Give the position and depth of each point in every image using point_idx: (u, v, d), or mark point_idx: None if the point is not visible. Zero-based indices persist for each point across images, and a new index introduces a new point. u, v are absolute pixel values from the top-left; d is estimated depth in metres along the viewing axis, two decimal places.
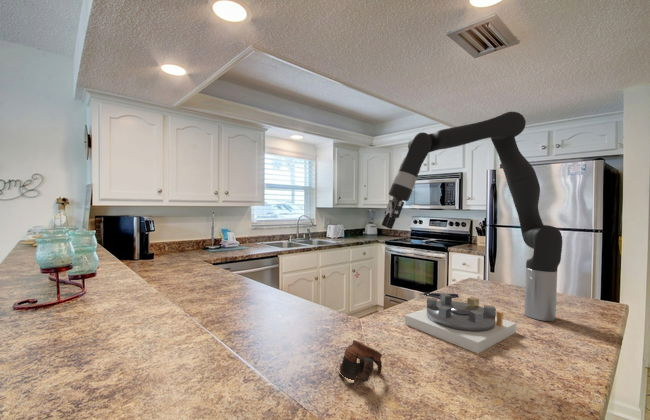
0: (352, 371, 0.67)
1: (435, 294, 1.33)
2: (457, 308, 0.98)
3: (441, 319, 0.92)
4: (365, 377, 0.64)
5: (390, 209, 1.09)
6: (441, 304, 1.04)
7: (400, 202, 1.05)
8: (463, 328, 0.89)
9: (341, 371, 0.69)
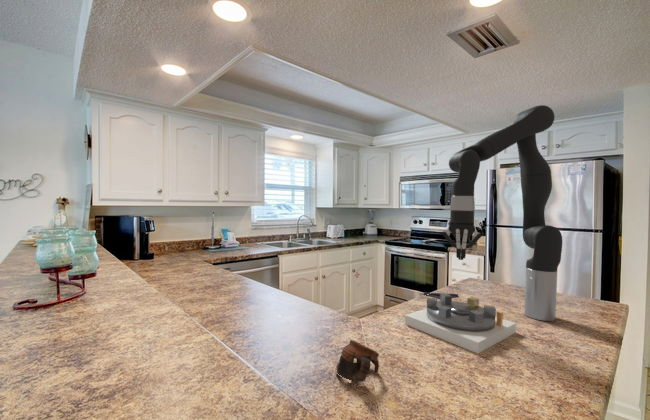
0: (349, 370, 0.67)
1: (435, 294, 1.33)
2: (457, 308, 0.98)
3: (441, 319, 0.92)
4: (362, 377, 0.64)
5: (465, 240, 1.03)
6: (441, 304, 1.04)
7: (480, 236, 1.03)
8: (463, 328, 0.89)
9: (338, 371, 0.69)
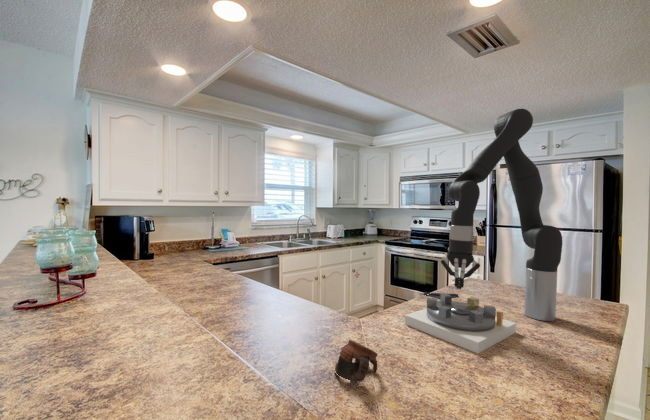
0: (348, 370, 0.67)
1: (435, 294, 1.33)
2: (457, 308, 0.98)
3: (441, 319, 0.92)
4: (361, 376, 0.64)
5: (464, 270, 1.04)
6: (441, 304, 1.04)
7: None
8: (463, 328, 0.89)
9: (337, 371, 0.69)
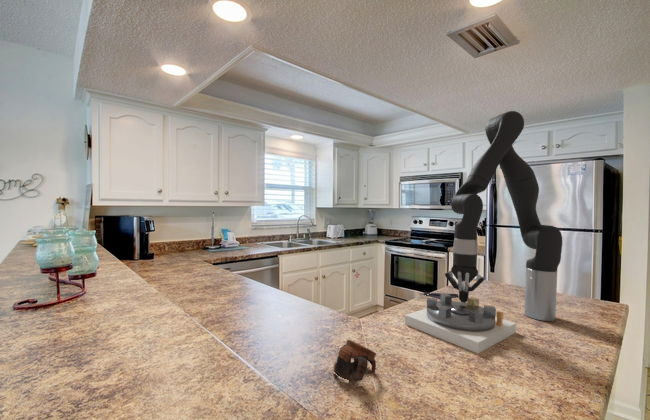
0: (347, 370, 0.67)
1: (435, 294, 1.33)
2: (457, 308, 0.98)
3: (441, 319, 0.92)
4: (359, 376, 0.64)
5: (467, 284, 1.03)
6: (441, 304, 1.04)
7: (483, 280, 1.02)
8: (463, 328, 0.89)
9: (335, 371, 0.69)
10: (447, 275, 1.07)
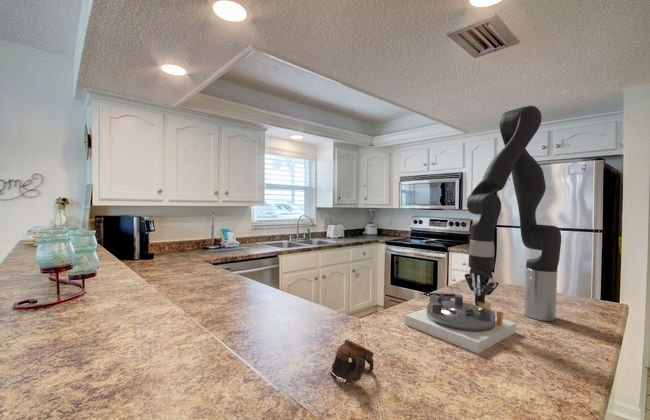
0: (344, 370, 0.67)
1: (435, 294, 1.33)
2: (457, 308, 0.99)
3: (430, 313, 0.97)
4: (357, 376, 0.64)
5: (478, 287, 0.99)
6: (450, 303, 1.05)
7: (494, 285, 0.95)
8: (445, 324, 0.91)
9: (333, 370, 0.69)
10: (466, 276, 1.06)
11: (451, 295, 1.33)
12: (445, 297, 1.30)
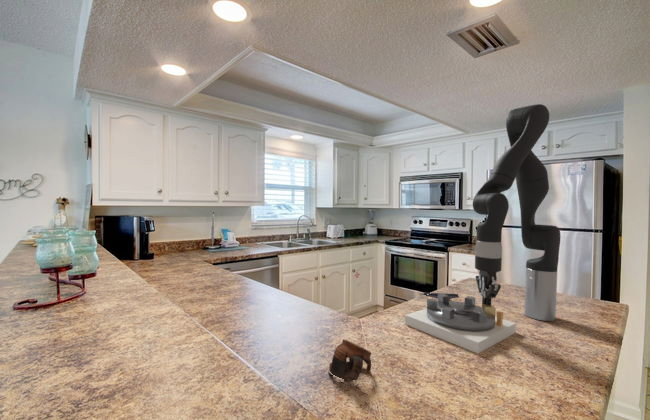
0: (342, 370, 0.67)
1: (435, 294, 1.33)
2: (458, 308, 0.99)
3: None
4: (354, 376, 0.64)
5: (483, 289, 0.97)
6: (459, 304, 1.05)
7: (496, 288, 0.92)
8: (433, 319, 0.95)
9: (331, 370, 0.69)
10: (476, 278, 1.03)
11: (451, 295, 1.33)
12: None
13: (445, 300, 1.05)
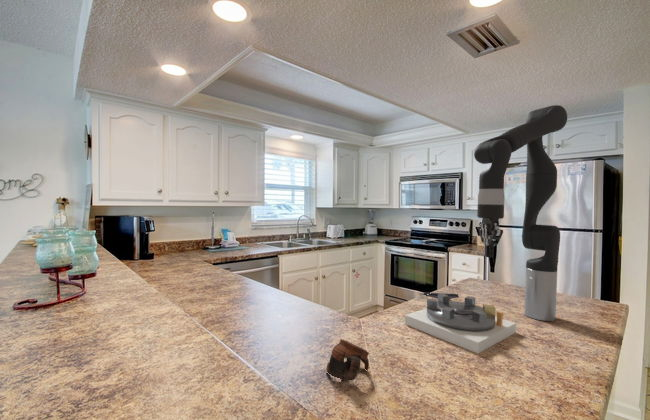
0: (339, 370, 0.67)
1: (435, 294, 1.33)
2: (458, 308, 0.99)
3: None
4: (352, 375, 0.64)
5: (486, 236, 0.97)
6: (459, 304, 1.05)
7: (498, 233, 0.92)
8: (433, 319, 0.95)
9: (328, 370, 0.69)
10: (479, 228, 1.04)
11: (451, 295, 1.33)
12: None
13: (445, 300, 1.05)
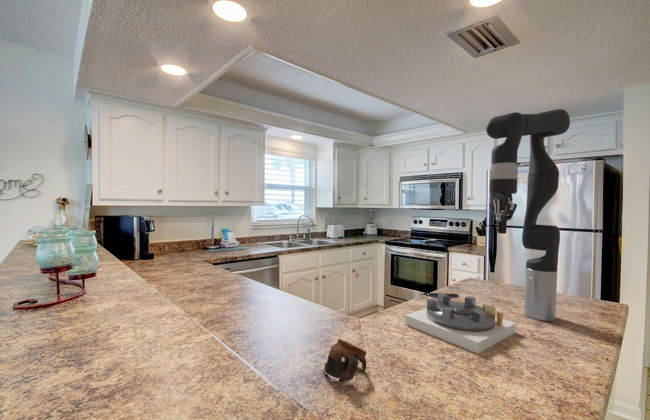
0: (337, 369, 0.67)
1: (435, 294, 1.33)
2: (458, 308, 0.99)
3: None
4: (350, 375, 0.65)
5: (498, 212, 0.95)
6: (459, 304, 1.05)
7: (512, 207, 0.91)
8: (433, 319, 0.95)
9: (326, 370, 0.69)
10: (490, 206, 1.02)
11: (451, 295, 1.33)
12: None
13: (445, 300, 1.05)
